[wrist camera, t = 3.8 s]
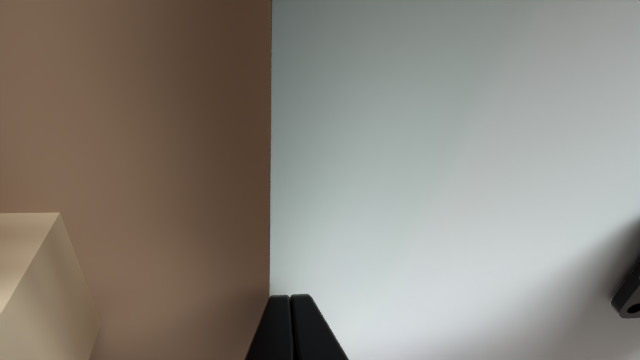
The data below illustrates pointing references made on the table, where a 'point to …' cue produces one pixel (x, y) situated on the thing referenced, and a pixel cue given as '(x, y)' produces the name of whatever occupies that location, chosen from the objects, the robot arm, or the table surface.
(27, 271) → the t block
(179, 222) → the board
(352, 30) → the table surface
